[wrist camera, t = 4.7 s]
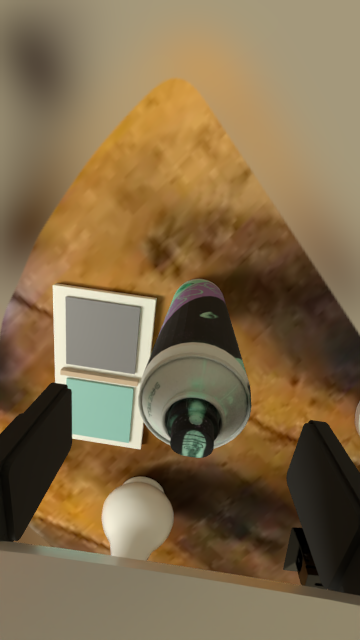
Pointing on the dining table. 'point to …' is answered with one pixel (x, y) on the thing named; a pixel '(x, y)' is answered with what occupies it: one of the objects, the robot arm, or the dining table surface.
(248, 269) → the dining table surface
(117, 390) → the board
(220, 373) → the spray can
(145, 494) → the flower vase
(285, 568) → the black angular piece
